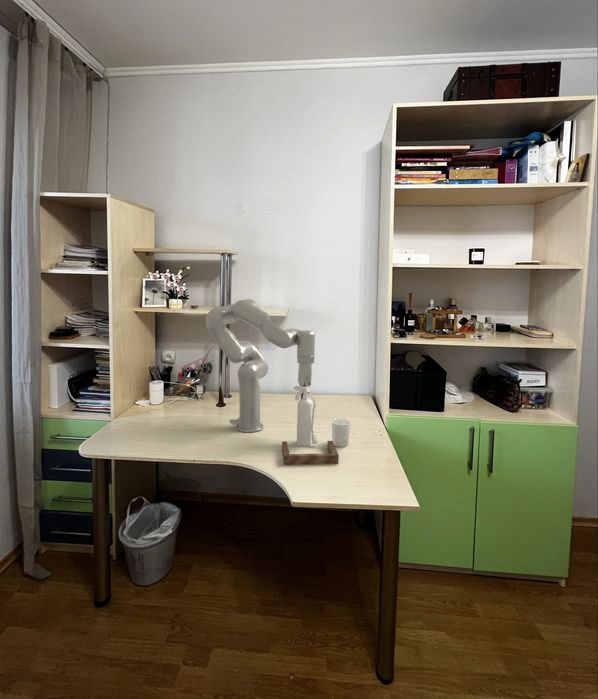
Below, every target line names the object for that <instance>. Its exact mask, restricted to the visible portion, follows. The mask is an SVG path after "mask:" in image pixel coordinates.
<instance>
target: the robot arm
mask: <svg viewBox="0 0 598 699" xmlns="http://www.w3.org/2000/svg"><path fill="white" fill-rule="evenodd" d="M241 321H242V322H244V323H245V324H247V325H248V326H250V327H252V328H254V329H255V330H257V331H258V332H259V333H260V335H261V336H262V337H263V338H264V339H265V340H267V341H268V342H269V343H271V344H273V345H274V346H277V347H279V348H280V349H289V348H290V347H294V346H296V350H297V351H296V363H298V370H297V371H298V372H297V383H298V385H299V386H300V387H309V388H310V387H311V386H312V376H313V375H312V372H313V371H312V370H313V367H312V365H313V364H314V363H315V350H316V349H315V348H316V347H315V345H316V333H315V332H314V331H312V330H308V329H307V330H305V329H304V330H301V329H297V328H288V329H282V328H280V327H278V326H277V325H275V324H274V323H273V322H271V319H270V314H269V313H267V312H266V311H264V310H263V309H261V308H260V306H259V304H258V303H257V301H255V299H254V300H253V299H251V298H249V299H248V298H246V299H240V300H238V301H236V302H235V303H234V304H230V305H223V306H217V307H214V308H211V309H210V310H209V311H208V312H207V314H206V318H205V325H206V326H205V327H206V329H207V331H208V334H209V335H210V336H211V337H212V338H213V340H214V341H215V342H216V344H217V345H218V346H219V348H220V349H221V350H222V352H223V354H225V356H226V358H227V359H228V360H229V361H230V362H231V363H233V364H240V363H242V364H241V365H240V366H239V367H238V369H237V370H238V371H237V379H238V385H239V386H238V389H239V394H238V395H239V417H238V418H236V419H233V418H231V419H229V424H231V425H232V426H234V425H235V429H236V430H237V431H239V432H241V433H257V432H260V431H261V430H263V429H264V424H263V423H261V388H260V387H261V386H260V383H259V380H260V379H262V378H264V377H265V376H267V374H268V372H269V366H268V363H267V361H266V360H265V358H264V357H263V355H262V354H261V353H260V352H259V350H258V349H257V347H255V345H254V344H253V343H252V342H251V341H248V340H239V339H238V338H237V337H236V335H235V334H234V333H233V331H231V330H230V329H229V328H228V327H227V326H226V325H230V324H235V323H238V322H241ZM308 394H310V392H308ZM302 398H303V393H302V394H301V395H300V399H302ZM308 398H310V397H309V396H308Z"/></svg>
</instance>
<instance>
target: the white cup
mask: <svg viewBox="0 0 598 699" xmlns="http://www.w3.org/2000/svg"><path fill="white" fill-rule="evenodd" d="M350 432H351V421H350V420H349V419H344V418H335V419H333V420H331V438H332V440H331V441H333V444H334V446H335V447H338V448H339V447H341V448H343V447H347V446H348V445H349V439H350Z"/></svg>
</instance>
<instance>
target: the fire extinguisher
mask: <svg viewBox="0 0 598 699" xmlns="http://www.w3.org/2000/svg"><path fill="white" fill-rule="evenodd" d="M293 390H295V391H298V392H297V393H296V394H295V397H294V400H295V401H297V410H296V411H297V416H296V420H297V422H296V444H297V445H298V446H301V447H309V446H311V445H314V446H315V445H318V444H319V443H318V439H317V436H316V434H315V433H314V420H315V419H314V418H315V409H316V398H315V397H314V396H313V395H312V394H310V391H311V390H310V386H309V387H301V386H300V385H299V386H297V385H296V386H293ZM308 392H309V394H308ZM302 393H303V398H302V399H301V394H302ZM308 396H309V398H311V399H313V401H312V400H311V399H309V398H308Z"/></svg>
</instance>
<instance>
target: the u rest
mask: <svg viewBox="0 0 598 699" xmlns="http://www.w3.org/2000/svg"><path fill="white" fill-rule="evenodd" d="M326 445H327V446H326V447H327V448H326V449H327V452H328V453H327V452H326V453H325V452H324V453H290V451H289V447H288V446H289V445H288V441H286V440H285V441H281V452H282V459H283V465H284V466H289V465H290V466H292V465H293V466H295V465H298V466H299V465H303V466H305V465H338V464H339V462H340V461H339V459H340V455H339V452H338V450H337V448H336V446H335V445H334V444H333V441H332V440H327V444H326Z"/></svg>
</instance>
